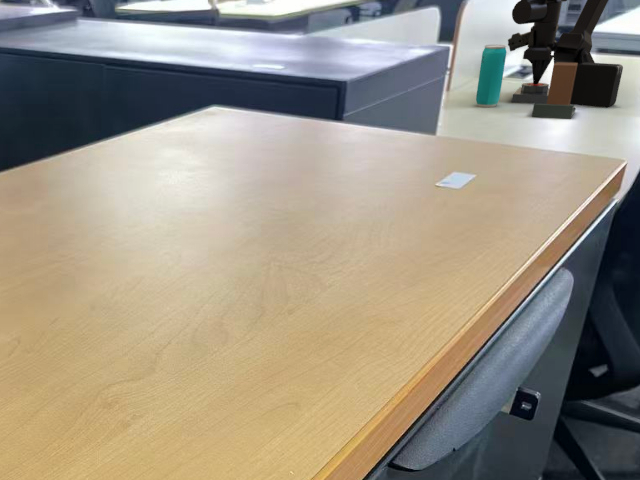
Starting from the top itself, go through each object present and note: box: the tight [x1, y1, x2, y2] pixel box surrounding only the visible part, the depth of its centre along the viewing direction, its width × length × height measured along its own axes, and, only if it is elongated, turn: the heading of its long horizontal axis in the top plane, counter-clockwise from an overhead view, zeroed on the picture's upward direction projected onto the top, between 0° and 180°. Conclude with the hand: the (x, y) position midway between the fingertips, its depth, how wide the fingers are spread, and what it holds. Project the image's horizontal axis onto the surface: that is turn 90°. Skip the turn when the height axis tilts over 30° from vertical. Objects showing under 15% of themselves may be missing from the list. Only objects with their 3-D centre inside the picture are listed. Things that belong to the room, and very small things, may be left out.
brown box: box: [547, 62, 578, 105], centre depth 217 cm, size 5×5×11 cm
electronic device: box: [570, 62, 624, 108], centre depth 221 cm, size 4×10×10 cm, turn 44°
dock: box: [531, 103, 576, 120], centre depth 213 cm, size 8×9×3 cm
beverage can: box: [475, 44, 507, 108], centre depth 224 cm, size 6×6×15 cm
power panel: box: [511, 82, 550, 104], centre depth 232 cm, size 12×9×4 cm
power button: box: [528, 82, 543, 86], centre depth 231 cm, size 4×4×2 cm
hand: (535, 83), depth 231 cm, fingers closed, pressing on power button
